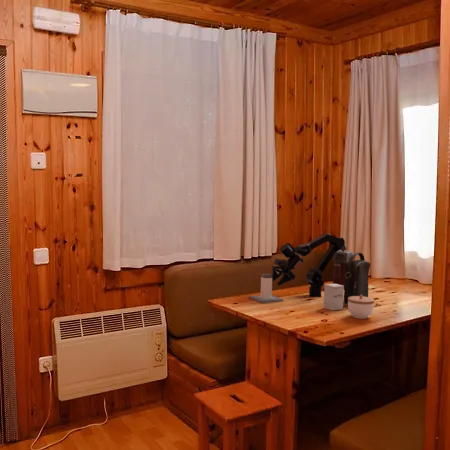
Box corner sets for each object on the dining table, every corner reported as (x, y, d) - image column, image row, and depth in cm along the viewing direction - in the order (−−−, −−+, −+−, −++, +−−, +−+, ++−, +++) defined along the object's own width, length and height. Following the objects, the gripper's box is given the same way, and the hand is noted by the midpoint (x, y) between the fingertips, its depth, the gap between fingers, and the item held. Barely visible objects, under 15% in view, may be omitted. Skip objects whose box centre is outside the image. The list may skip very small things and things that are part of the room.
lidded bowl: (374, 321, 251) (375, 298, 250) (347, 319, 254) (348, 296, 253) (372, 314, 264) (373, 293, 263) (346, 312, 266) (347, 291, 265)
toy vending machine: (331, 288, 328) (332, 244, 326) (337, 285, 337) (339, 242, 335) (344, 290, 323) (346, 245, 321) (350, 287, 333) (352, 243, 330)
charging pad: (271, 296, 302) (271, 294, 302) (283, 301, 289) (283, 299, 289) (249, 297, 296) (249, 295, 296) (260, 303, 283) (260, 301, 283)
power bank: (267, 296, 296) (268, 273, 295) (271, 298, 291) (272, 275, 290) (260, 296, 294) (261, 274, 293) (264, 298, 289) (264, 275, 288)
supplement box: (332, 310, 270) (333, 286, 269) (323, 307, 277) (324, 284, 276) (343, 309, 274) (344, 285, 273) (334, 306, 280) (335, 283, 279)
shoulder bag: (357, 297, 303) (359, 249, 301) (372, 300, 297) (374, 251, 295) (339, 304, 285) (341, 253, 283) (355, 307, 279) (357, 255, 277)
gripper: (274, 251, 303) (257, 271, 300) (291, 255, 286) (272, 277, 282) (286, 264, 307) (269, 284, 303) (303, 269, 290) (285, 290, 286)
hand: (273, 283), depth 294 cm, fingers open, 9 cm apart
